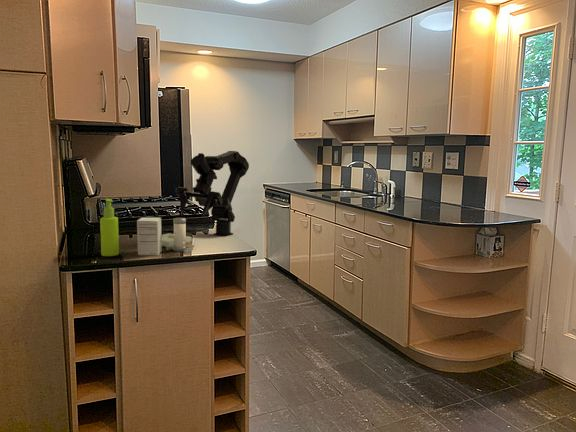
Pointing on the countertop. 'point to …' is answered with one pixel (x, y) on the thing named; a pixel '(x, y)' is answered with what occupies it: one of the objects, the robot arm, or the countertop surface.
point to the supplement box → (149, 236)
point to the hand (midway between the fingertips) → (191, 213)
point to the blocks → (189, 248)
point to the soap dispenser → (109, 231)
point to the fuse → (179, 234)
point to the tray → (171, 240)
